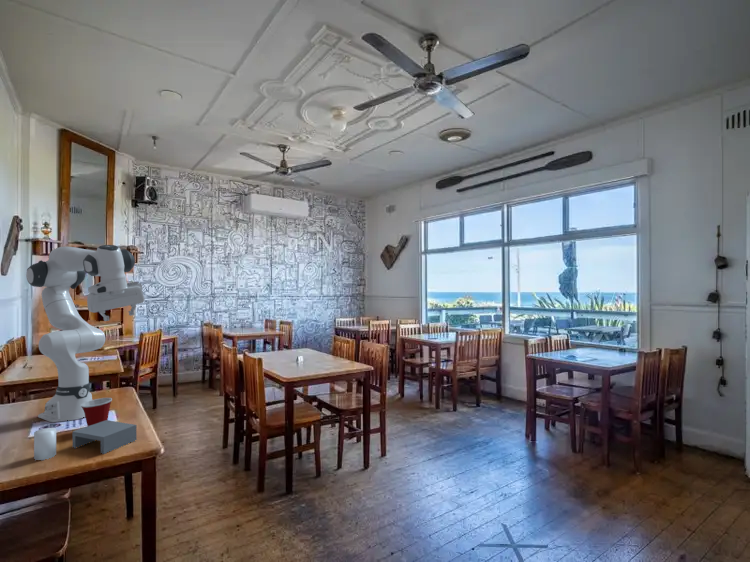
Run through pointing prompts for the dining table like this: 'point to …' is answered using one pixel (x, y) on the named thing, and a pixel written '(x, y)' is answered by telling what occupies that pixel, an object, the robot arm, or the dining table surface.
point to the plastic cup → (96, 410)
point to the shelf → (106, 435)
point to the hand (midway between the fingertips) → (119, 317)
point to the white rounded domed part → (44, 443)
